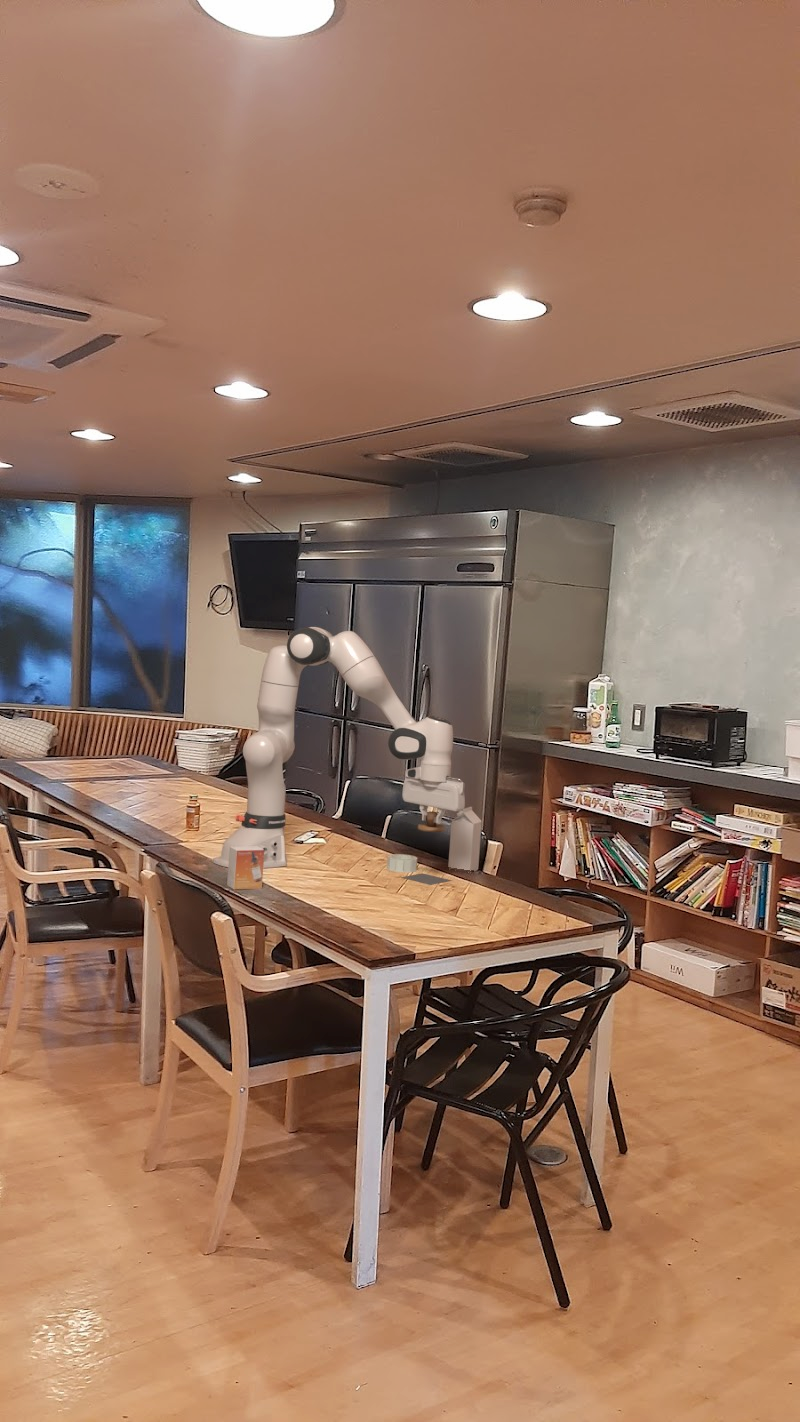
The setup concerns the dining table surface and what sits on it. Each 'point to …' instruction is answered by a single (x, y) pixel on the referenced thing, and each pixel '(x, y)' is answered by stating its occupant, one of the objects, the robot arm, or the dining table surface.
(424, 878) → the mat
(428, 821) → the lid
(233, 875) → the small box
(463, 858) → the milk carton
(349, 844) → the dining table surface
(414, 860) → the bowl
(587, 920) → the dining table surface
